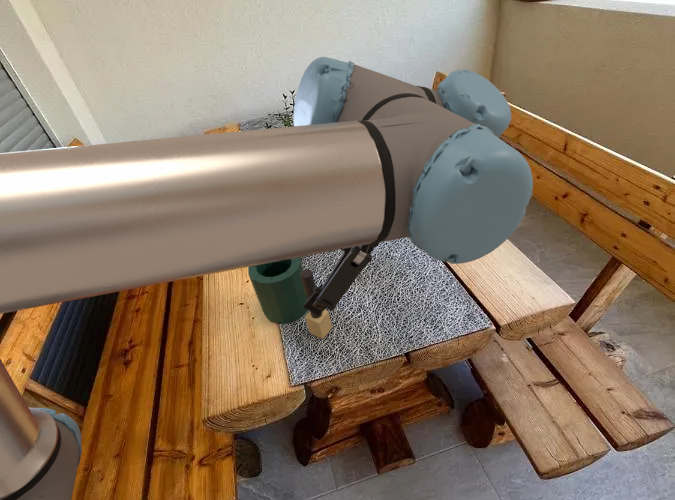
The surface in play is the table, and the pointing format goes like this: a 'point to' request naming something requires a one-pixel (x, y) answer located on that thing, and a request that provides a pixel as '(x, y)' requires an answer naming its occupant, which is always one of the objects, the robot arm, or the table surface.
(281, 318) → the green plastic cup
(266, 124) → the table surface
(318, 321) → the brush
